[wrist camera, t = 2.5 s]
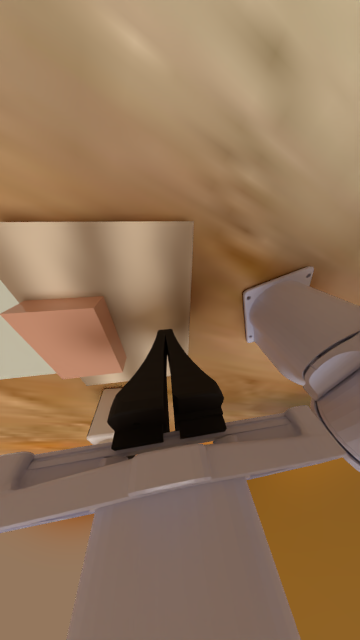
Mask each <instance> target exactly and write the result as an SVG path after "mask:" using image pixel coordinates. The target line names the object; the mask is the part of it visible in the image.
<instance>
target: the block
mask: <svg viewBox="0 0 360 640" xmlns="http://www.w3.org/2000/svg"><path fill="white" fill-rule="evenodd" d="M0 315H1V316H2V317H3V318H4V319H5V320H6V321H7V322H8V323H9V324H10V325H11V326H12V327H13V329H14V330H15V331H16V332H17V333H18V334H19V335H20V336H21V337H22V338H23V339H24V340H25V341H26V342H27V343H28V344H29V345H30V346H31V347H32V348H33V349H34V350H35V351H36V352H37V353H38V354H39V355H40V356H41V357H42V358H43V359H44V360H45V362H46V363H47V364H48V365H49V366H50V367H51V368H52V369H53V370H54V371H55V372H56V373H57V374H58V375H59V376H60V377H61V378H62V379H69V378H78V377H87V376H95V375H104V374H113V373H122V372H123V370H124V366H125V362H126V358H127V357H126V354H125V352H124V349H123V346H122V344H121V341H120V339H119V336H118V333H117V331H116V328H115V325H114V323H113V320H112V318H111V315H110V312H109V310H108V307H107V304H106V302H105V299H104V296H96V297H79V298H61V299H44V300H26V301H23V302H21V303H19V304H17V305H15V306H14V307H12V308H10V309H8V310H6V311H4V312H3V313H1V314H0Z"/></svg>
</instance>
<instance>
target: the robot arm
mask: <svg viewBox="0 0 360 640" xmlns="http://www.w3.org/2000/svg"><path fill="white" fill-rule="evenodd" d="M313 271H314V268H313V267H311V266H308V267H305V268H303V269H300V270H297V271H295V272H292V273H289V274H287V275H284V276H282V277H279V278H276V279H274V280H271V281H269V282H266V283H263V284H261V285H258V286H255V287H253V288H250V289H248V290H246V291H244V293H243V303H244V316H245V329H246V341H247V342H248V343H251V342H254V341H255V343H256V344H257V345H258V346H259V347H260V349H261V350H262V351H263V352H264V353H265V355H266V356H267V357H268V358H269V360H270V361H271V362H272V363H273V364H274V366H275V367H276V368H277V369H278V370H279V372H280V373H281V374H282V375H284V376H285V377H286V378H288V379H289V380H291V381H293V382H295V383H297V384H299V385H302V386H303V388H304V389H305V390H306V392H307V393H308V394H309V395H310V396H311V397H312V399H311V410H310V408H309V407H308V406H307V405H303V406H297V407H292V408H289V409H287V410H286V411H285V412H284V413H281V414H275V415H269V416H263V417H257V418H251V419H245V420H239V421H233V422H227V423H225V421H224V418H223V416H222V415H223V412H222V409H221V405H222V403H223V400H224V397H223V394H222V392H221V390H220V388H219V386H218V385H217V383H216V382H215V381H214V380H213V379H212V378H210V377H209V376H208V375H207V374H205V373H204V372H203V371H202V370H201V369H200V368H199V367H198V366H197V365H196V364H195V363H194V362H193V361H192V360H191V359H190V358H189V356H188V355H187V354H186V353H185V351H184V350H183V348H182V347H181V345H180V344H179V342H178V341H177V339H176V337H175V335H174V332H173V330H172V329H163V330H158V332H157V335H156V338H155V341H154V343H153V345H152V348H151V350H150V351H149V353H148V355H147V357H146V359H145V360H144V362H143V363H142V365H141V366H140V368H139V369H138V370H137V372H136V373H135V374H134V375H133V377H132V378H131V379H130V380H129V381H128V383H127V384H126V385H125V386H124V387H123V388H122V389H121V390H120V391H119V392H118V393H117V394H116V396H115V398H114V400H113V403H112V405H111V408H110V412H109V416H108V420H107V423H108V425H109V426H110V427H111V428H112V429H113V430H114V431H115V432H114V437H113V441H112V442H108V443H102V444H96V445H90V446H84V447H78V448H72V449H66V450H60V451H54V452H48V453H42V454H36V455H34V454H33V453H31V452H17V453H11V454H5V455H0V533H3V532H7V531H12V530H16V529H21V528H26V527H30V526H35V525H40V524H45V523H50V522H54V521H59V520H64V519H69V518H74V517H79V516H83V515H88V514H93V513H95V515H94V519H93V524H92V529H91V532H90V537H89V541H88V546H87V551H86V555H85V560H84V564H83V568H82V573H81V577H80V582H79V586H78V591H77V595H76V599H75V604H74V608H73V613H72V617H71V621H70V626H69V631H68V635H67V639H66V640H301V639H300V636H299V633H298V630H297V627H296V624H295V621H294V618H293V615H292V613H291V610H290V607H289V604H288V601H287V598H286V595H285V592H284V589H283V586H282V583H281V581H280V578H279V575H278V572H277V569H276V566H275V563H274V560H273V557H272V554H271V551H270V549H269V546H268V543H267V540H266V537H265V534H264V531H263V528H262V525H261V522H260V519H259V516H258V514H257V511H256V508H255V505H254V502H253V499H252V496H251V493H250V491H249V487H248V484H247V481H246V480H249V479H253V478H257V477H262V476H266V475H270V474H275V473H279V472H284V471H288V470H293V469H297V468H301V467H306V466H310V465H315V464H319V463H323V462H327V461H330V460H334V459H338V458H341V457H343V458H344V459H345V460H346V461H347V462H348V463H349V464H351V465H352V466H353V467H354V468H355V469H356V470H358V471H359V472H360V306H357V305H355V304H352V303H350V302H347V301H345V300H342V299H340V298H337V297H335V296H332V295H330V294H327V293H325V292H322V291H320V290H317V289H315V288H312V287H310V282H311V279H312V275H313ZM248 296H249V297H248ZM247 297H248V298H247ZM167 356H168V362H169V368H170V373H171V383H172V396H173V408H174V420H175V431H173V432H170V429H169V413H168V397H167ZM209 441H213V444H210V445H203V444H198V443H204V442H209ZM137 454H138V455H137ZM132 455H136V456H134V457H133V458H132V459H129V460H128V457H126V456H132Z"/></svg>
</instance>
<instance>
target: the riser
mask: <svg viewBox="0 0 360 640" xmlns="http://www.w3.org/2000/svg"><path fill="white" fill-rule="evenodd" d="M193 232H194V221H148V222H0V280H1V281H2V283H3V284H4V285H5V286H6V288H7V289H8V290H9V291H10V292H11V294H12V295H13V296H14V297H15V299H16V300H17V301H18V302H19V303H21V302H23V301H26V300H44V299H61V298H79V297H96V296H104V299H105V302H106V304H107V307H108V310H109V312H110V315H111V318H112V320H113V323H114V325H115V328H116V331H117V333H118V336H119V339H120V341H121V344H122V346H123V349H124V352H125V354H126V357H127V358H126V362H125V366H124V370H123V372H122V373H113V374H104V375H95V376H87V377H80V378H81V379H82V381H83V382H84V383H85V384H86V385H87V386H90V385H98V384H106V383H115V382H123V381H129V380H130V379H131V378H132V377H133V375H134V374H135V373H136V372H137V370H138V369H139V368H140V366H141V365H142V363H143V362H144V360H145V359H146V357H147V355H148V353H149V351H150V350H151V348H152V345H153V343H154V341H155V338H156V335H157V332H158V330H163V329H172V330H173V332H174V335H175V337H176V339H177V341H178V342H179V344H180V345H181V347H182V348H183V350H184V351H185V353H186V354H187V355H188V345H189V323H190V300H191V277H192V255H193ZM167 376H171V373H170V368H169V362H168V356H167Z"/></svg>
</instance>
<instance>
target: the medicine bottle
mask: <svg viewBox="0 0 360 640" xmlns="http://www.w3.org/2000/svg"><path fill="white" fill-rule="evenodd" d="M121 389H122V388H112V389H104V390H103V392H102V395H101V398H100V400H99V403H98V406H97V409H96V412H95V415H94V418H93V420H92V423H91V426H90V429H89V432H88V435H87V440H89V441H90V442H91V443H92V444H93V445H96V444H102V443H108V442H112V441H113V437H114V432H115V431H114V430H113V429H112V428H111V427H110V426H109V425H108V423H107V420H108V416H109V412H110V408H111V405H112V403H113V400H114V398H115V396H116V394H117V393H118V392H119V391H120V390H121ZM134 456H135V455H132V456H126V457H128V460H129V459H132V458H133V457H134Z"/></svg>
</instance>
